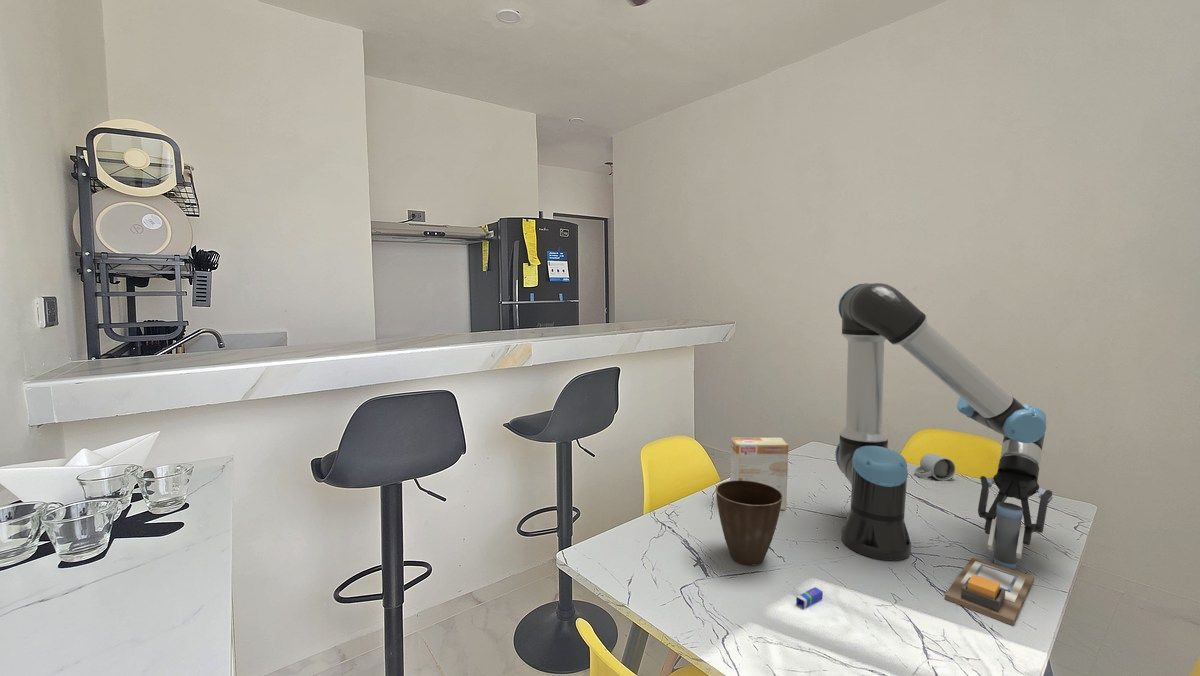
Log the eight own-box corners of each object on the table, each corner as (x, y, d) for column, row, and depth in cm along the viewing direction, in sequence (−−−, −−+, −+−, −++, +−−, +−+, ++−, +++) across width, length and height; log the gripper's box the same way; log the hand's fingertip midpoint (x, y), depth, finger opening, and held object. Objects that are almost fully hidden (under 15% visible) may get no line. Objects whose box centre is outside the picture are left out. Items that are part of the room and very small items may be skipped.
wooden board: (1013, 625, 95) (1014, 610, 94) (944, 598, 103) (945, 585, 103) (1033, 581, 109) (1034, 567, 109) (971, 560, 117) (972, 548, 117)
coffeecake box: (779, 500, 151) (781, 437, 149) (786, 510, 144) (789, 444, 142) (728, 499, 152) (730, 436, 150) (734, 509, 145) (736, 443, 143)
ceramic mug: (938, 472, 175) (939, 450, 174) (955, 480, 167) (956, 458, 166) (908, 472, 175) (909, 451, 174) (923, 481, 167) (924, 459, 166)
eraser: (795, 604, 101) (795, 595, 101) (814, 595, 104) (814, 586, 104) (803, 610, 99) (804, 600, 99) (822, 600, 103) (823, 591, 102)
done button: (994, 601, 98) (995, 591, 98) (967, 591, 101) (967, 582, 101) (999, 592, 101) (1000, 583, 101) (972, 583, 104) (973, 574, 104)
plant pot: (702, 547, 123) (703, 484, 122) (752, 537, 128) (754, 476, 127) (739, 580, 109) (741, 509, 108) (794, 567, 115) (796, 499, 113)
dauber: (1004, 570, 113) (1009, 511, 112) (987, 559, 118) (991, 502, 116) (1023, 570, 114) (1028, 510, 112) (1005, 559, 118) (1010, 501, 117)
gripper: (1067, 479, 118) (1056, 573, 108) (976, 461, 131) (958, 544, 121) (1068, 463, 114) (1056, 559, 104) (974, 446, 127) (955, 531, 117)
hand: (1004, 551), depth 113 cm, fingers closed on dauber, 4 cm apart
